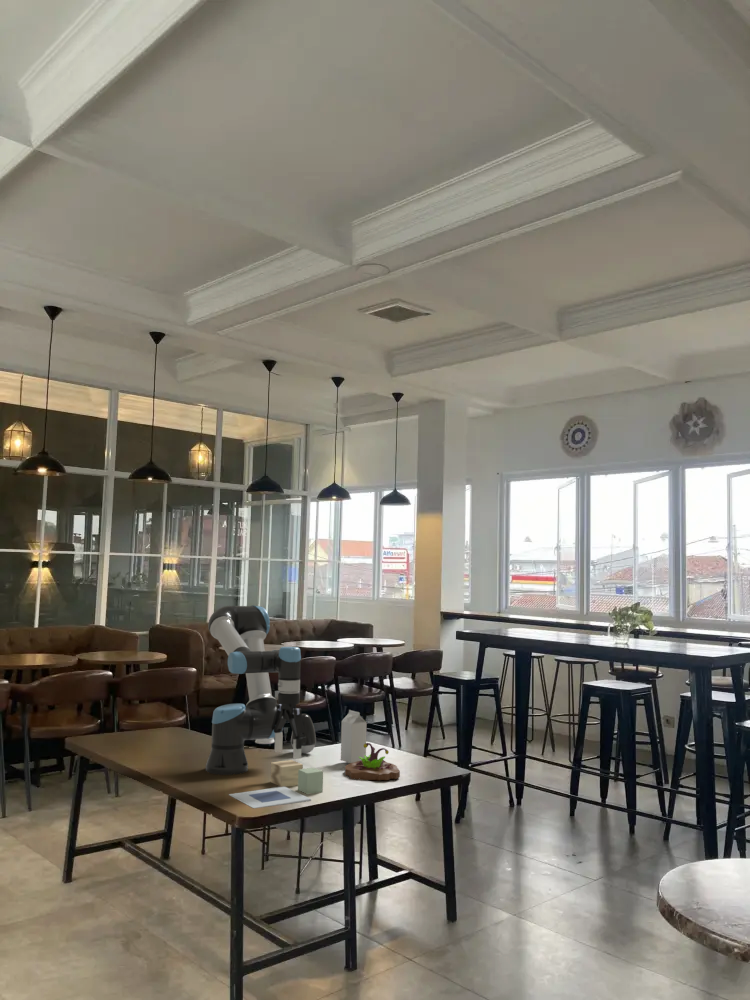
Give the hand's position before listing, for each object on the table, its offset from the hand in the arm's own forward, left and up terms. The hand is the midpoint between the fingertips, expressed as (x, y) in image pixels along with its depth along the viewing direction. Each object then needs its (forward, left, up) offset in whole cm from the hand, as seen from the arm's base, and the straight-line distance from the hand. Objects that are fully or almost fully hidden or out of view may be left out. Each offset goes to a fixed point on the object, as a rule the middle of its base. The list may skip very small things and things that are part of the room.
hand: (287, 755), depth 278 cm
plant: (+1, +35, -10) cm, 36 cm away
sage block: (+13, +2, -10) cm, 16 cm away
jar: (-67, +25, -10) cm, 72 cm away
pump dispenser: (-42, +30, -10) cm, 53 cm away
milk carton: (-18, +39, -10) cm, 44 cm away
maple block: (0, 0, -10) cm, 10 cm away
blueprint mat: (+15, -14, -10) cm, 22 cm away
